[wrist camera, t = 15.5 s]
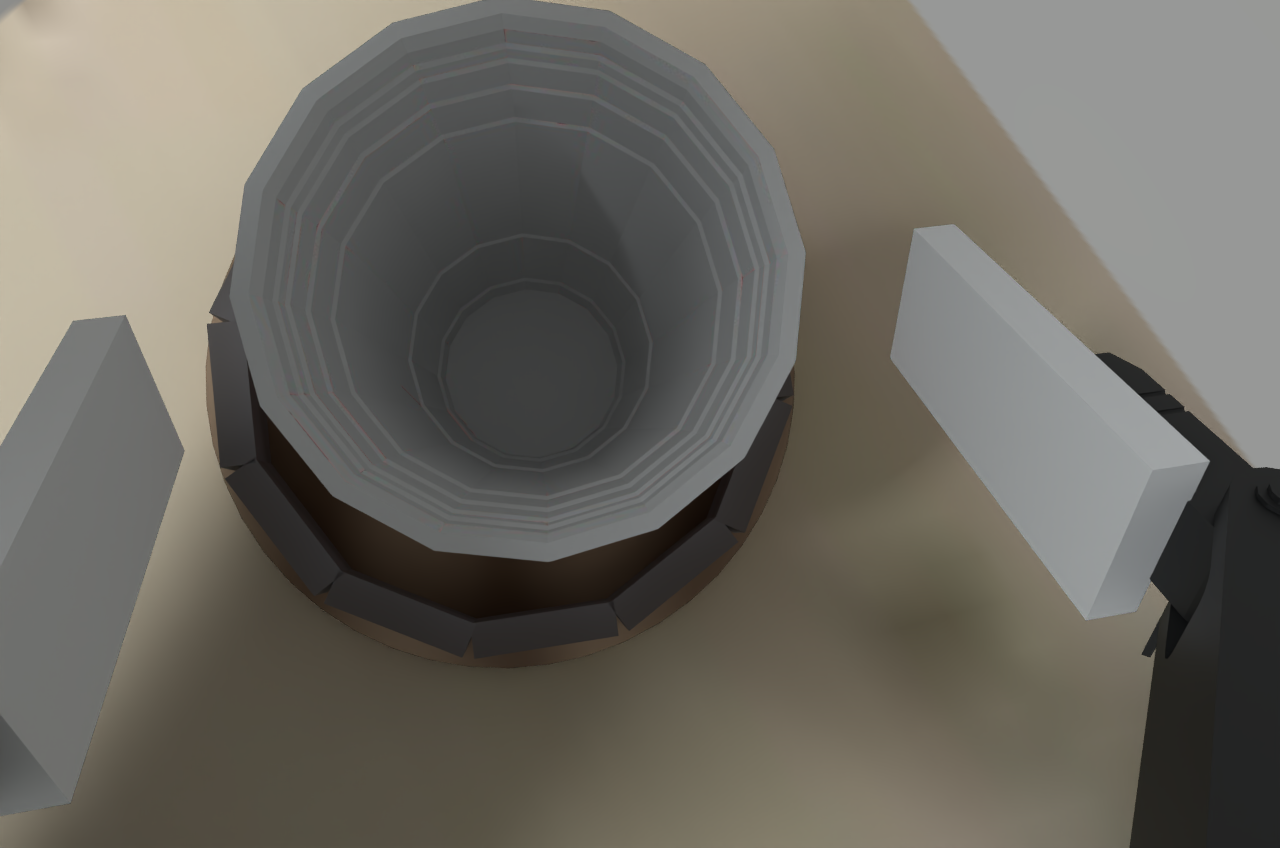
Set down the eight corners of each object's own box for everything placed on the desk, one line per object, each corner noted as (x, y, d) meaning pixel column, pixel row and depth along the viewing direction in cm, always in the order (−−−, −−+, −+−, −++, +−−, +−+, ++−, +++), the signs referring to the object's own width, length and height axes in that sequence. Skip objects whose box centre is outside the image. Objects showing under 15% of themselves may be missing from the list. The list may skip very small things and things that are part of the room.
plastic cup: (275, 397, 27) (79, 293, 15) (508, 147, 29) (490, -117, 17) (549, 624, 27) (561, 693, 16) (763, 361, 29) (918, 244, 17)
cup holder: (247, 707, 27) (217, 726, 25) (194, 133, 29) (160, 93, 26) (824, 614, 30) (852, 622, 27) (740, 90, 32) (759, 50, 29)
